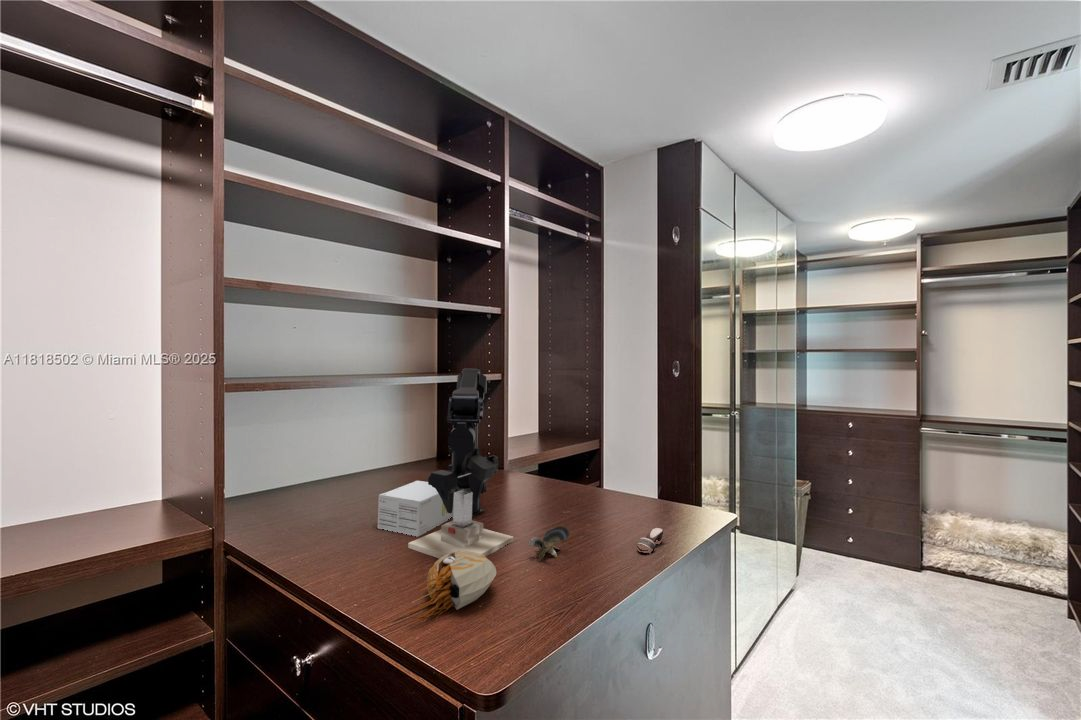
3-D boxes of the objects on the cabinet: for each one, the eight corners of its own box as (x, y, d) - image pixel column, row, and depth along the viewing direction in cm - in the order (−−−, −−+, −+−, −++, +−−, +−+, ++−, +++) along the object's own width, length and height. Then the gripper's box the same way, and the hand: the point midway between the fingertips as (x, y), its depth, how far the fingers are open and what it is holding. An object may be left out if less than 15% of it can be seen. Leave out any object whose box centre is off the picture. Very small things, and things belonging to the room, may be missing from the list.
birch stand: (458, 526, 133) (459, 507, 133) (513, 541, 123) (513, 520, 123) (408, 547, 118) (408, 526, 117) (465, 567, 108) (466, 543, 108)
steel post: (461, 536, 123) (462, 489, 123) (472, 539, 121) (473, 491, 121) (451, 540, 120) (452, 492, 120) (462, 543, 118) (463, 495, 118)
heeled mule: (630, 552, 119) (631, 536, 119) (651, 539, 127) (652, 524, 127) (646, 558, 116) (647, 542, 116) (667, 544, 125) (668, 529, 124)
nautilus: (432, 644, 81) (376, 618, 89) (515, 587, 98) (461, 570, 107) (429, 597, 80) (373, 575, 89) (512, 548, 98) (459, 534, 106)
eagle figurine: (562, 561, 110) (576, 540, 118) (544, 534, 110) (560, 515, 118) (537, 572, 113) (552, 551, 121) (520, 545, 114) (537, 526, 122)
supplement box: (418, 538, 124) (419, 501, 124) (376, 529, 129) (377, 494, 129) (454, 517, 140) (455, 484, 140) (415, 510, 145) (416, 479, 145)
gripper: (463, 455, 108) (462, 526, 108) (513, 442, 123) (511, 504, 124) (427, 448, 114) (425, 515, 114) (478, 437, 129) (477, 496, 130)
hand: (462, 507), depth 120 cm, fingers open, 9 cm apart
